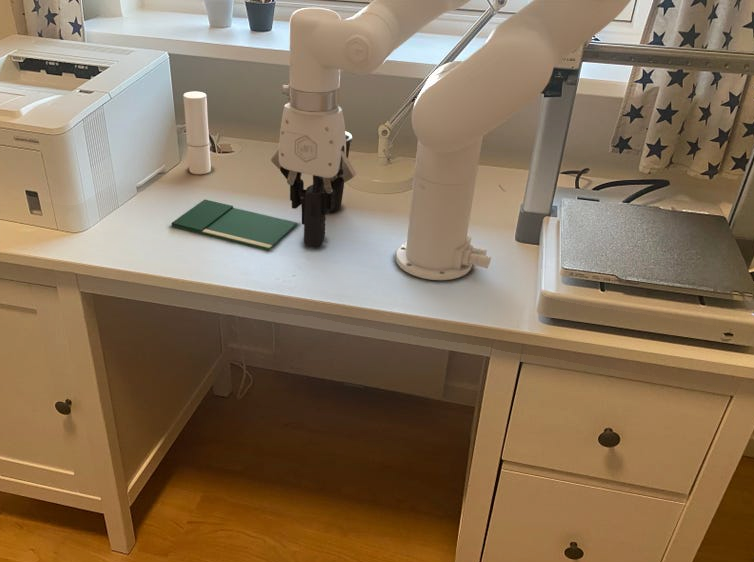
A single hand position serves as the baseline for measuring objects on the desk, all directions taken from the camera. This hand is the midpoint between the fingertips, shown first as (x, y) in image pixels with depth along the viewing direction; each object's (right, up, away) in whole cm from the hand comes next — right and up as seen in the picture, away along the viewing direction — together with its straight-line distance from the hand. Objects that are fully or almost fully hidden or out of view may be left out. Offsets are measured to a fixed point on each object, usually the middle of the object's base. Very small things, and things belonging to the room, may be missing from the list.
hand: (312, 207), depth 125 cm
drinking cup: (+2, +3, +15) cm, 16 cm away
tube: (-24, +13, +27) cm, 38 cm away
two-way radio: (0, -5, +4) cm, 7 cm away
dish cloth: (-14, -2, +8) cm, 16 cm away
